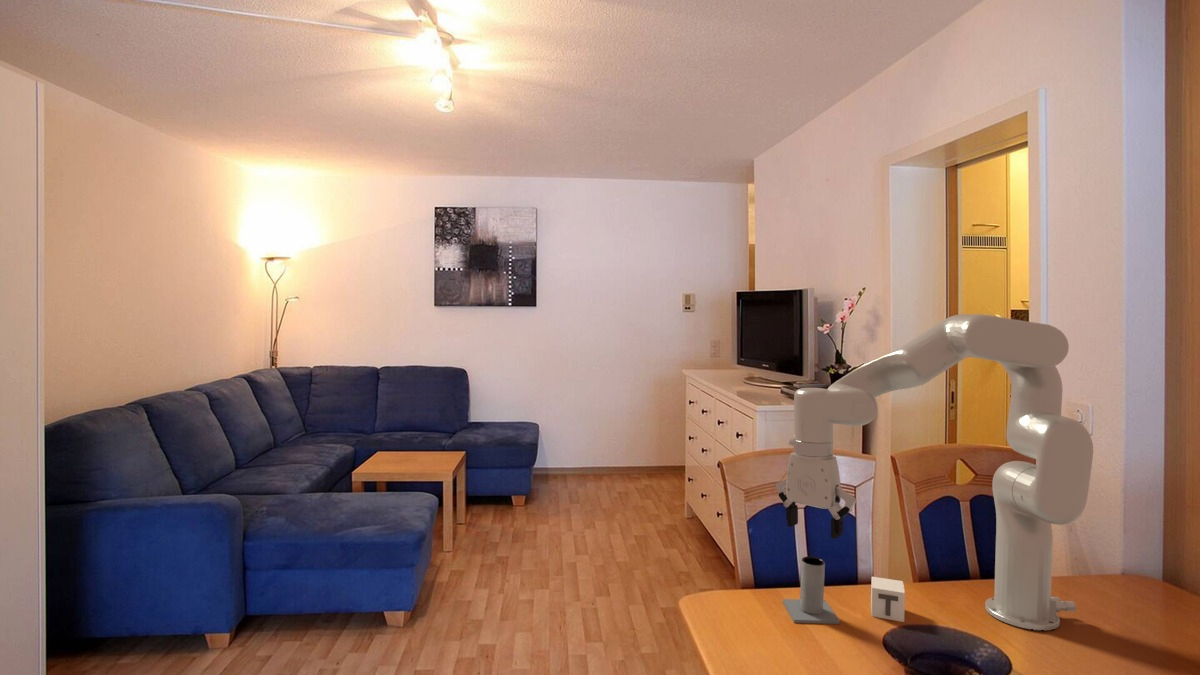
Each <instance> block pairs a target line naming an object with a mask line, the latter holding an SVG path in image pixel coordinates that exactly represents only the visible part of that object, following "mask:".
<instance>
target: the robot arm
mask: <svg viewBox="0 0 1200 675" xmlns="http://www.w3.org/2000/svg"><path fill="white" fill-rule="evenodd" d="M1069 346H1070V344H1069V341H1068V338H1067V337H1066V335H1065V333H1063V331H1062V330H1060V329H1059V328H1057V327H1056V326H1054V325H1050V324H1046V323H1039V322H1034V321H1032V322H1031V321H1025V320H1019V319H1014V318H1009V317H1002V316H994V315H990V314H982V313H981V314H980V313H978V314H977V313H974V314H969V313H967V314H964V313H962V314H955V315H952V316H949V317H947V318H945V319H943V320H941V321H940V322H939V323H937V324H935V325H934V326H932V327H931V328H929V329H928V330H926V331H924V332H923V333H921V334H920V335H918V336H916V337H915V338H913V339H912V340H910V341H909V342H907V343H905V344H904V345H902V346H901V347H899V348H898V349H896V350H894V351H892V352H889V353H887V354H885V355H882V356H881V357H878V358H877V359H874V360H872V361H869V362H868V363H865V364H863V365H861V366H859V367H857V368H856V369H854V370H852V371H850V372H849V373H847V374H846V375H844V376H842V377H841V378H839V379H838V380H836V381H835V382H833V383H832V384H831V385H829V386H828V388H822V387H801V388H798V389H796V390H795V392H794V396H793V397H794V398H793V410H794V411H793V422H794V423H793V424H794V425H793V431H794V433H793V434H794V435H793V439H789V442H788V445H789V446H791V447H792V448H793V452H791V453H790V455H789V459H788V463H787V464H788V465H787V470H786V471H787V472H786V479H783V480H781V481H778V482H776V483H775V484H774V486H775V489H776V491H777V493H778V497H779V499H780V500H781V501H782V503H783V506H784V508H785V512H786V514H785V519H786V522H787V524H786V526H787V527H789V528H792V527H793V526H796V525H798V524H799V507H798V505H797V504H800V505H801V504H802V505H804V506H810V507H814V508H818V509H824V510H827V509H828V511H829V512H830V514H831V515H832V518H831V519H830V538H831V539H833V540H836V539H837V538H841V536H842V534H843V533H844V517H846V516H847V515H848V514H850V512H852V509H853V508H854V507H855V505H856V502H857V499H856V497H854V496H853V495H852V494H850V493H849V492H847V491H846V490H844V489H843V488H842V487H841V478H840V470H839V464H838V460H837V457H836V456H834V424H836V425H844V426H851V427H862V426H866V425H867V424H869V423H871V422H872V421H874V419H875V418H876V416H877V414H878V410H879V408H878V407H879V406H878V403H877V400H876V398H878V397H879V396H881V395H884V394H887V393H890V392H894V391H899V390H900V391H901V390H906V389H912V388H916V387H919V386H923V385H925V384H927V383H929V382H930V381H932V380H934V379H935V378H936V377H938V376H940V375H941V374H943V373H944V372H946V371H947V370H949V369H950V368H952V367H953V366H955V365H957V364H958V363H960V362H962V361H964V359H967V358H974V359H982V360H987V361H993V362H998V363H999V364H1000V365H1001V367H1003V369H1004V370H1005V371H1006V373H1007V375H1008V378H1009V381H1010V389H1011V390H1010V403H1009V410H1008V416H1007V417H1008V418H1007V424H1006V432H1005V436H1006V442H1007V444H1008V446H1009V448H1011V449H1012V450H1013V451H1014V452H1016V453H1019V455H1022V456H1025V457H1027V458H1031V459H1034V460H1036V464H1034V463H1031V462H1027V461H1022V460H1012V461H1008V462H1005V463H1003V464H1001V465H1000V466H999V467H998V468H997V469H996V471H995V472H994V475H993V477H992V481H991V482H992V486H991V487H992V488H991V489H992V495H993V500H994V501H993V502H994V507H995V514H996V515H995V518H996V521H995V522H996V525H995V528H996V529H995V530H996V531H995V533H996V534H995V558H994V559H995V562H994V564H995V565H994V595H993V597H990V598H988V599H986V601H984V603H985V604H984V605H985V606H984V608H985V610H986V612H987V613H988V614H989V615H990V616H992V617H994V618H995V619H997V620H999V621H1001V622H1002V623H1003V622H1004V623H1005V624H1008V625H1011V626H1014V627H1017V628H1021V629H1026V630H1031V629H1033V630H1032V631H1041V630H1044V631H1052V629H1053V630H1056V629H1058V628H1059V627H1060V622H1061V621H1060V620H1061V619H1060V617H1059V615H1058V614H1057V613H1060V612H1061V611H1063V612H1076V610H1077V606H1076V604H1075V602H1074V601H1073V600H1072V601H1071V600H1061V599H1060V598H1059V597H1058V596H1052V572H1053V571H1052V570H1053V565H1052V564H1053V545H1054V544H1053V543H1054V540H1053V539H1054V537H1053V536H1054V534H1053V527H1052V525H1059V526H1063V525H1069V524H1072V523H1074V522H1075V521H1077V520H1078V519H1079V518H1080V517H1081V515H1082V513H1083V512H1084V510H1085V508H1086V506H1087V500H1088V496H1089V490H1090V481H1091V474H1092V467H1093V466H1092V465H1093V457H1094V444H1093V439H1092V436H1091V434H1090V433H1089V431H1088V429H1087V428H1086V427H1085V426H1084V425H1083V424H1082V423H1080V422H1079V421H1077V420H1076V419H1073V418H1071V417H1066V416H1064V415H1063V416H1062V407H1063V406H1062V404H1063V382H1062V378H1061V375H1060V372H1059V370H1058V368H1057V366H1058V365H1059V364H1060V363H1063V361H1064V360H1065V359H1066V357H1067V356H1068V353H1069V349H1070V348H1069ZM841 500H843V501H844V502H845V504H844V506H843V507H842V505H841V504H840V503H841Z"/></svg>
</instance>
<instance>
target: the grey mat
mask: <svg viewBox="0 0 1200 675" xmlns="http://www.w3.org/2000/svg"><path fill="white" fill-rule="evenodd" d="M782 604H783V605H784V607H785V606H786V607H785V609H786V610H788V611H787V612H788V614H789V616H790V619H791V620H792V622H793V623H796V624H824V625H825V624H828V625H834V624H835V625H841V624H840V623H841V620H840V619H839V618H838V616H837V615H836V614H835V612H834V610H833V609H832V608H831V606H830V605H829V602H827V600H825V599H823V612H822V613H821V614H817V615H813V614H808V613H805V612H804V611H802V610H801V609H800V598H799V599H798V598H797V599H794V598H788V599H787V598H783V599H782Z"/></svg>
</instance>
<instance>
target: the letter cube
mask: <svg viewBox="0 0 1200 675" xmlns="http://www.w3.org/2000/svg"><path fill="white" fill-rule="evenodd" d="M870 581H871V583H870V584H871V587H870V589H871V591H870V592H871V593H870V595H871V596H870V610H871V613H870V614H871V617H874V618H879V619H885V620H891V621H895V622H901V623H902V622H903V623H905V600H906V597H905V596H906V595H905V594H906V591H905V586H904V581H903V580H898V579H897V580H896V579H890V578H885V577H884V578H883V577H880V576H879V577H876V576H871V580H870Z"/></svg>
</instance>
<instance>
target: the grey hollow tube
mask: <svg viewBox="0 0 1200 675" xmlns="http://www.w3.org/2000/svg"><path fill="white" fill-rule="evenodd" d="M800 566H801V567H800V569H801V570H800V592H799V593H800V594H799V595H800V596H799V597H800V598H799V600H800V609H801V610H802V611H804V612H805V613H808V614H813V615H817V614H821V613H822V612H823V600H825V599H824V598H825V596H824V595H825V594H824V593H825V569H826V568H825V567H826V562H825V561H824V560H823V559H822V558H819V557H815V556H803V557H802V558H801V564H800Z"/></svg>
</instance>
